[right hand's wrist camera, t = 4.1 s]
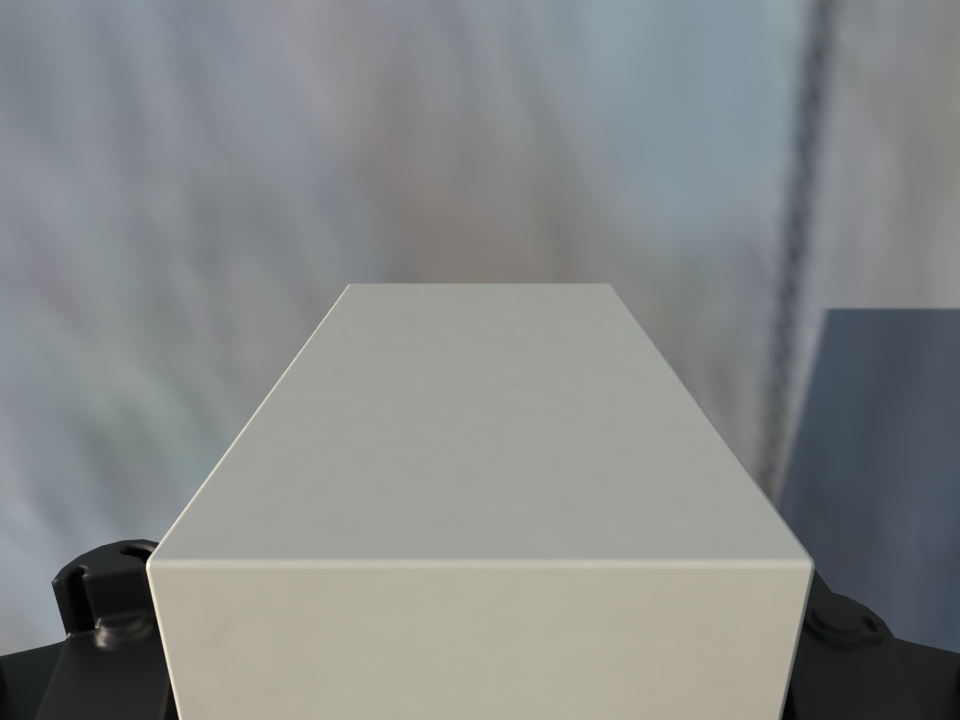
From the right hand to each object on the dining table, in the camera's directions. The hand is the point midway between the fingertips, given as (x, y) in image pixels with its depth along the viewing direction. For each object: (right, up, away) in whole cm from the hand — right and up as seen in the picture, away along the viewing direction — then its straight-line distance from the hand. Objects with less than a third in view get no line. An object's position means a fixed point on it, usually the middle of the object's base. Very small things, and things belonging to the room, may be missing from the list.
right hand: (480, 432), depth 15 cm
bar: (0, -9, +4) cm, 10 cm away
